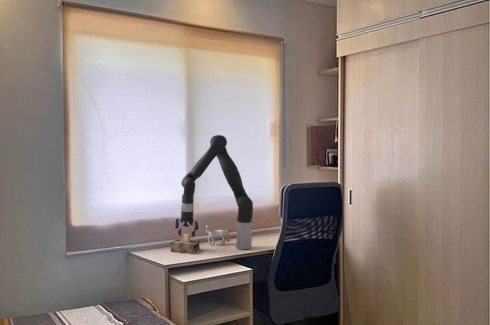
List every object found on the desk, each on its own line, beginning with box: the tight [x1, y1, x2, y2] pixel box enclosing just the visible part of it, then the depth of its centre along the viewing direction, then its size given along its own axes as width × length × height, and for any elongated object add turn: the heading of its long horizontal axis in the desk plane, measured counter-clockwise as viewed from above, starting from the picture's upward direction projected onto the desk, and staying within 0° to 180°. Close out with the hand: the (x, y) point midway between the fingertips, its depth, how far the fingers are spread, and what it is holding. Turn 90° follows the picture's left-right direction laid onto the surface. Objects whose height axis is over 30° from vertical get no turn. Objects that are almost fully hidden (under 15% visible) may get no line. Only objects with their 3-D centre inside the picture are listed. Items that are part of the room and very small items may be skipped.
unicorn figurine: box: [203, 224, 231, 246], centre depth 321 cm, size 7×20×13 cm, turn 119°
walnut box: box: [170, 237, 201, 254], centre depth 306 cm, size 14×12×6 cm
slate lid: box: [178, 233, 198, 246], centre depth 305 cm, size 12×8×6 cm
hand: (186, 236), depth 305 cm, fingers open, 8 cm apart
